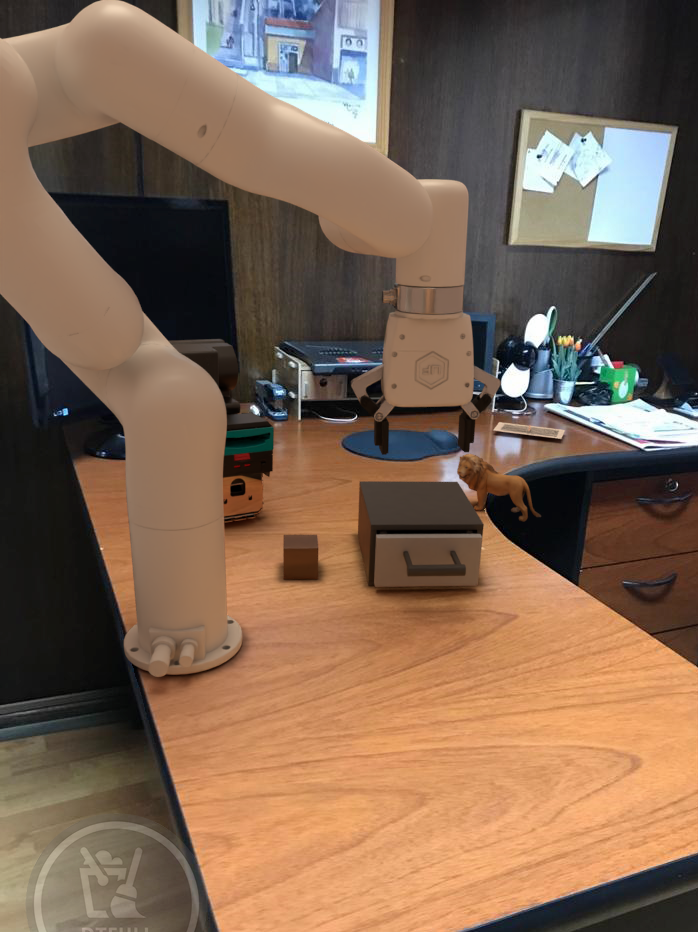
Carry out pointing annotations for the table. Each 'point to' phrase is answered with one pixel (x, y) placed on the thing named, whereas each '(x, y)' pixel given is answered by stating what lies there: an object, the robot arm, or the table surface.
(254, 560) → the table surface
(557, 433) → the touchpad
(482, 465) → the lion figurine
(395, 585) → the drawer
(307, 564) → the block
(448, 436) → the table surface
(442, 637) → the table surface
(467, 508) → the cabinet
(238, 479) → the bill acceptor
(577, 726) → the table surface
